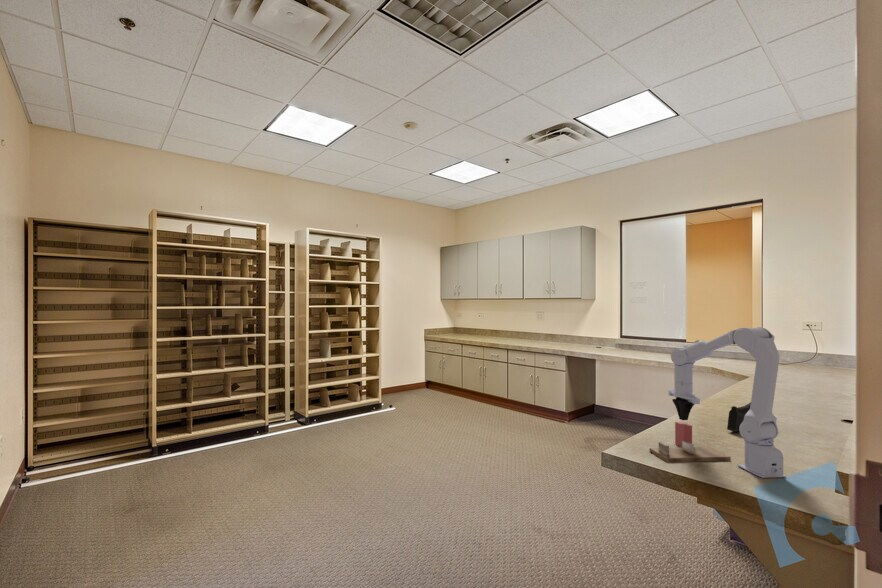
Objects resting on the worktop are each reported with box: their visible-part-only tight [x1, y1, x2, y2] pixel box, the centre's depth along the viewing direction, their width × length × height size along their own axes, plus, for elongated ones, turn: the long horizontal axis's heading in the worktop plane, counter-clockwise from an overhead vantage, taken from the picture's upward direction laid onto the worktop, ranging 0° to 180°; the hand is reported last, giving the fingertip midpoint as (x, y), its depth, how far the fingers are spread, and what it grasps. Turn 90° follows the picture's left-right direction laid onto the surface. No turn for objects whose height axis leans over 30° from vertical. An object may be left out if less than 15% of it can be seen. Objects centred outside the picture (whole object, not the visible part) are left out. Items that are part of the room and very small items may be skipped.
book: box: [674, 421, 693, 447], centre depth 156 cm, size 5×3×8 cm, turn 6°
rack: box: [649, 441, 732, 463], centre depth 146 cm, size 22×10×4 cm, turn 95°
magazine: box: [727, 401, 751, 432], centre depth 180 cm, size 17×3×30 cm
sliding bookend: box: [682, 441, 695, 454], centre depth 146 cm, size 1×4×3 cm, turn 6°
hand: (683, 419), depth 156 cm, fingers closed
